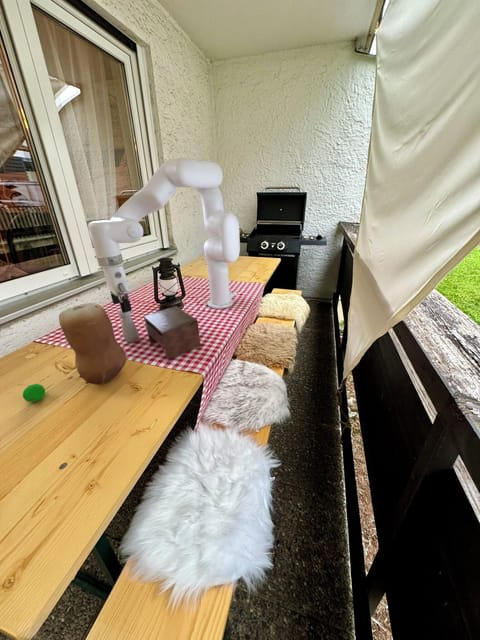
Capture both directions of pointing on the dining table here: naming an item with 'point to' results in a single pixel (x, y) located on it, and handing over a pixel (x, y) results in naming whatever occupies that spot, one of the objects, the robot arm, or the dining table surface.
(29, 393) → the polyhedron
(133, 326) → the salt shaker
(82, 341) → the butternut squash
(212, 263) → the robot arm
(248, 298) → the dining table surface
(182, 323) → the dark walnut cube
